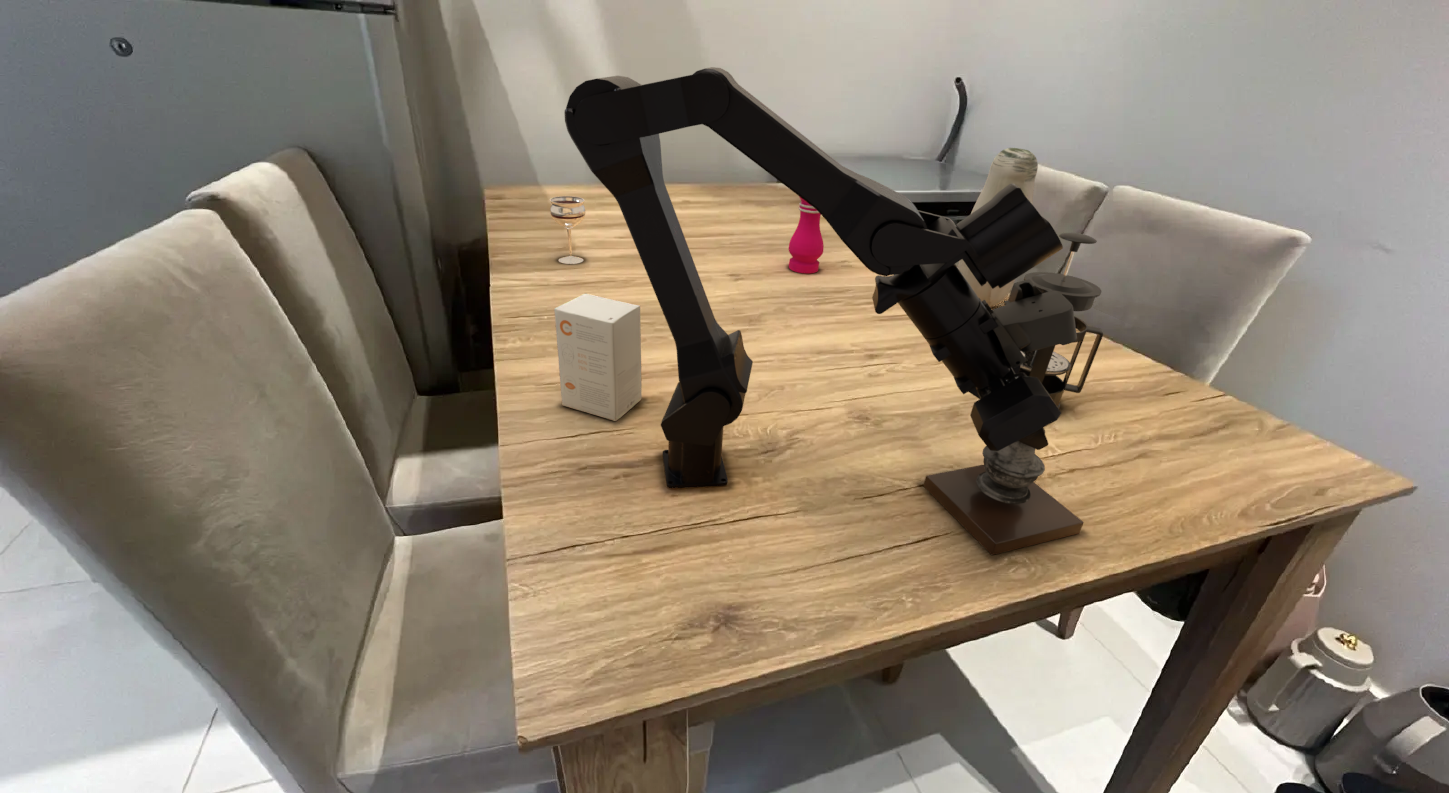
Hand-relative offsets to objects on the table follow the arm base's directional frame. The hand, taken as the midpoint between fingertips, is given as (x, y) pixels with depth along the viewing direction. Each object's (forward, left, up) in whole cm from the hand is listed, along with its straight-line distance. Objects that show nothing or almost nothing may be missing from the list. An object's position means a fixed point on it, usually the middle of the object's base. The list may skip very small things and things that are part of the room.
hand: (1036, 435), depth 61 cm
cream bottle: (+58, -28, -9) cm, 65 cm away
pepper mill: (+78, +1, -9) cm, 79 cm away
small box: (+24, +42, -10) cm, 50 cm away
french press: (+22, -16, -9) cm, 29 cm away
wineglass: (+82, +49, -10) cm, 96 cm away
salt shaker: (0, +1, -7) cm, 7 cm away
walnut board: (0, +1, -9) cm, 9 cm away
